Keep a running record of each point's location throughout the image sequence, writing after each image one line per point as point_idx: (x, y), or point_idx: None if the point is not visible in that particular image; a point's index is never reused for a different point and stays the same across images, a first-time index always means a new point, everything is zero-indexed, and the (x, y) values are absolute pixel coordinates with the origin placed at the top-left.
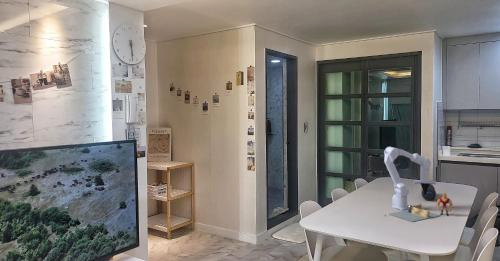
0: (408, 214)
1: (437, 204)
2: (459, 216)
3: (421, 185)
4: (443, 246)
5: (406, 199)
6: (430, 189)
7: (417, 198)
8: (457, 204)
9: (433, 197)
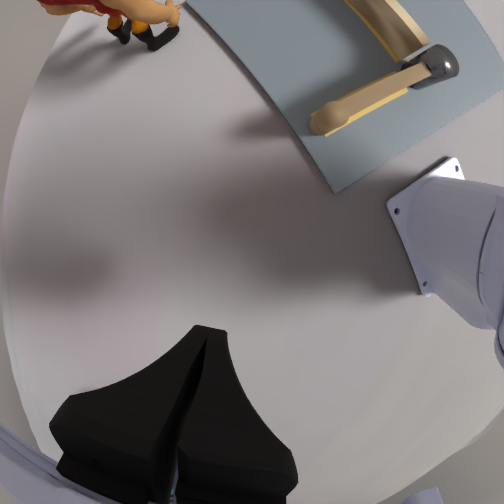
0: (428, 28)
1: (162, 5)
2: (71, 38)
3: (292, 461)
4: None
5: (472, 202)
6: None
7: None
8: (31, 332)
9: None
